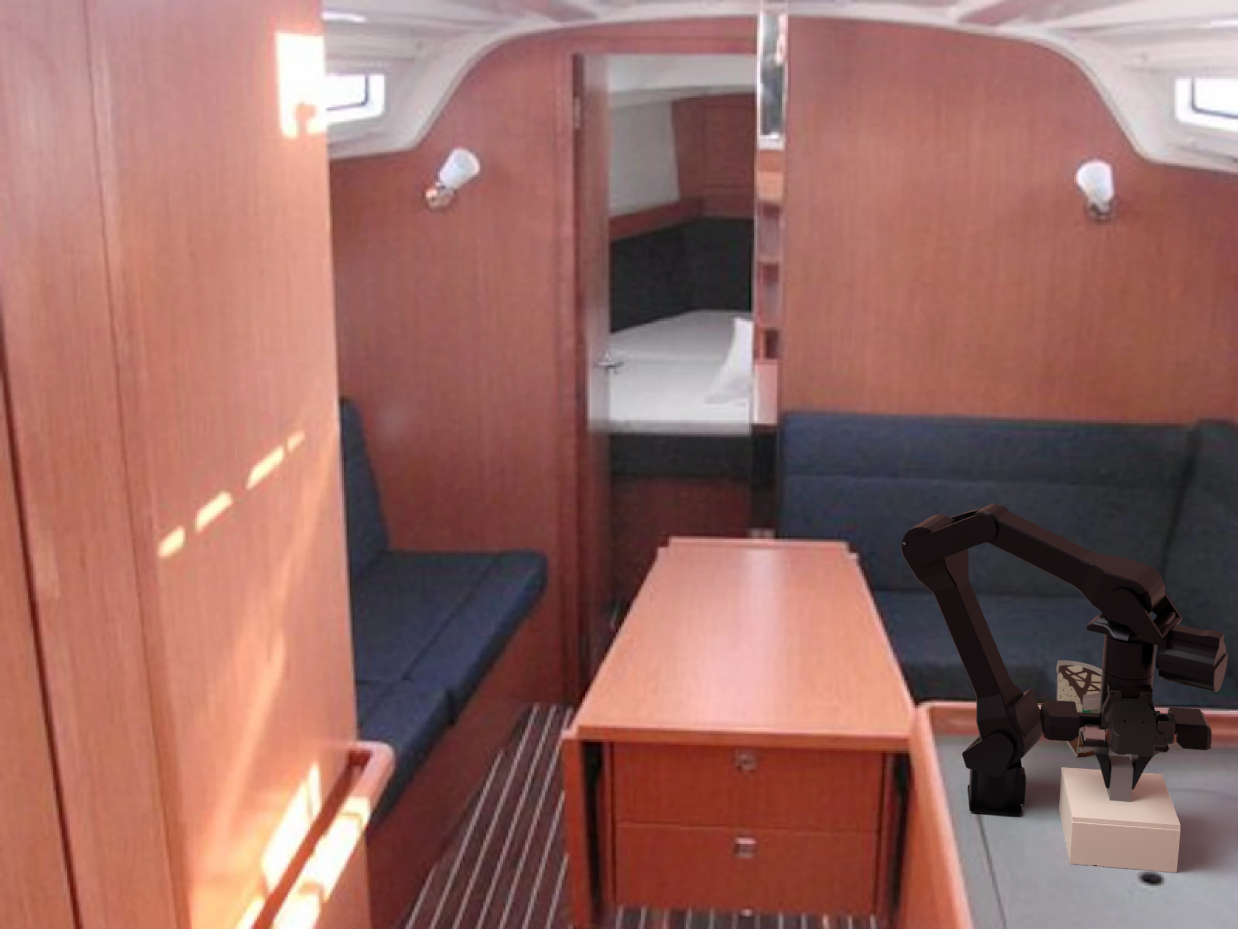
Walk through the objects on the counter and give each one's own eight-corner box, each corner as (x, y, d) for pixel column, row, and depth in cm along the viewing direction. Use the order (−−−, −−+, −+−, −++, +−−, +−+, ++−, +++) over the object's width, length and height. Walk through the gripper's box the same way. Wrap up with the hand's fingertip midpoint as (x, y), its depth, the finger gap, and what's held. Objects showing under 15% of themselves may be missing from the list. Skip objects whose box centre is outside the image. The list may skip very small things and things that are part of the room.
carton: (1069, 863, 156) (1072, 822, 155) (1059, 811, 167) (1061, 772, 166) (1176, 872, 154) (1180, 830, 152) (1158, 818, 165) (1161, 779, 163)
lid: (1072, 820, 155) (1074, 783, 153) (1061, 770, 166) (1063, 735, 165) (1180, 829, 152) (1183, 790, 151) (1161, 777, 164) (1164, 741, 162)
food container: (1125, 761, 179) (1130, 695, 176) (1080, 763, 179) (1084, 696, 176) (1095, 720, 191) (1099, 657, 188) (1052, 721, 191) (1056, 658, 188)
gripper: (1052, 695, 149) (1045, 816, 153) (1227, 705, 145) (1215, 829, 149) (1043, 655, 159) (1036, 769, 164) (1206, 663, 155) (1195, 780, 160)
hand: (1118, 787), depth 159 cm, fingers closed on lid, 2 cm apart
